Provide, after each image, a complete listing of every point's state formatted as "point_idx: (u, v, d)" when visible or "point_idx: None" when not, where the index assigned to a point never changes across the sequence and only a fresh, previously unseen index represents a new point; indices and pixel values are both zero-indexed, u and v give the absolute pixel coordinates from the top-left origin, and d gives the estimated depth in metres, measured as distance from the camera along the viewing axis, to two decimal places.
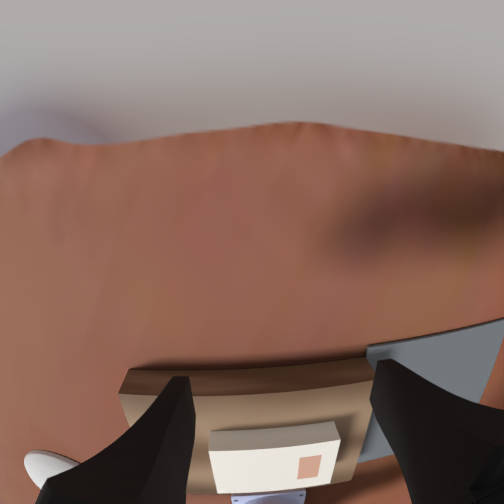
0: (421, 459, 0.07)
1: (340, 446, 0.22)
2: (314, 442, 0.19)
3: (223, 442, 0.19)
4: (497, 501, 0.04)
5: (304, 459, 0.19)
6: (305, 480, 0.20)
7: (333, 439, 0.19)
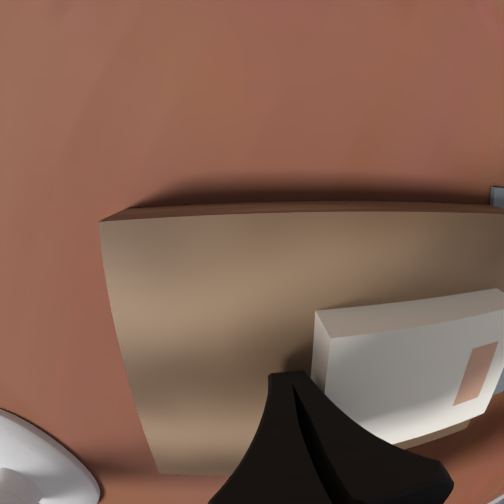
0: None
1: None
2: (496, 309, 0.10)
3: (352, 322, 0.10)
4: None
5: (477, 352, 0.10)
6: (461, 407, 0.11)
7: None
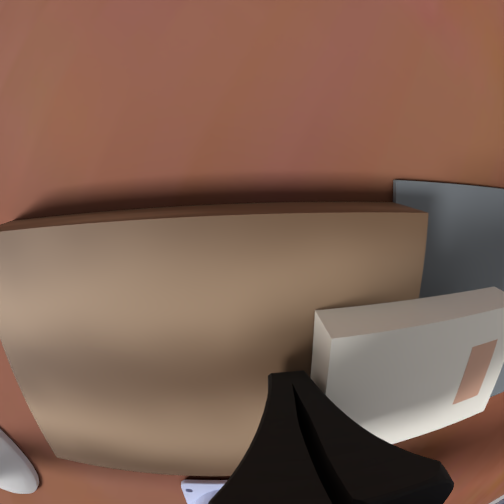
0: None
1: None
2: (495, 308, 0.10)
3: (353, 322, 0.10)
4: None
5: (476, 351, 0.10)
6: (461, 406, 0.11)
7: None
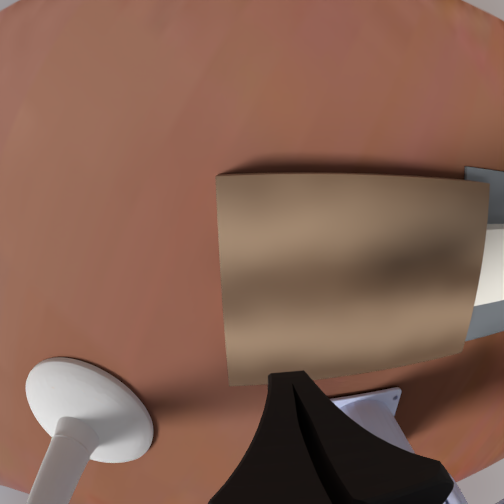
0: None
1: (460, 283, 0.19)
2: None
3: None
4: None
5: None
6: None
7: None
